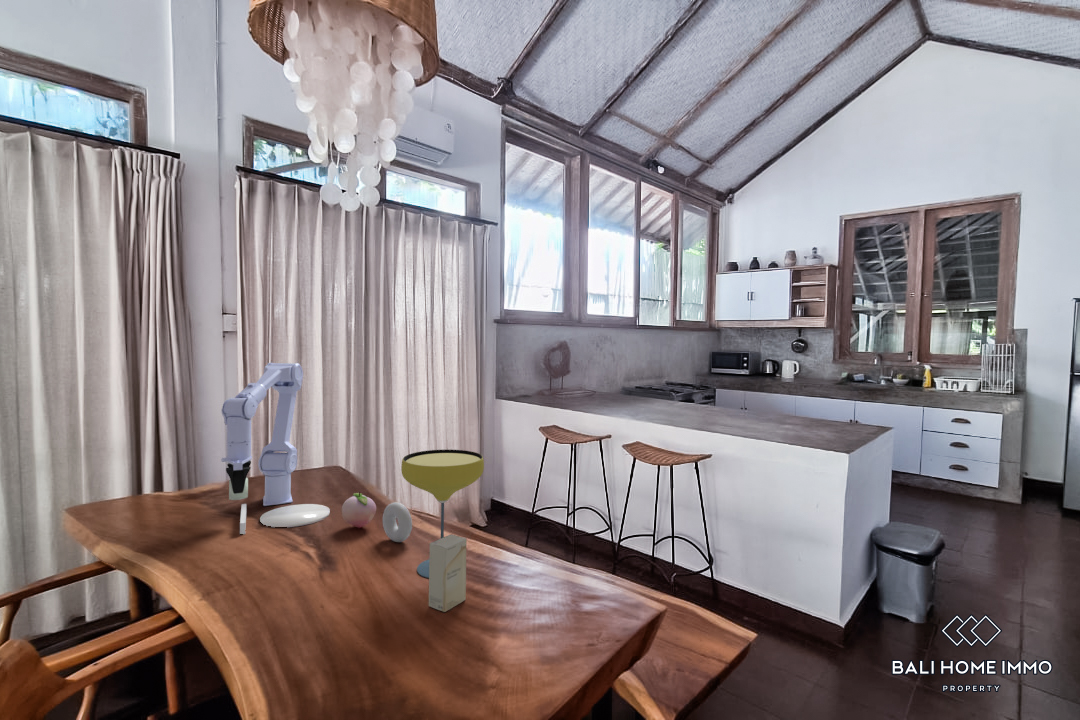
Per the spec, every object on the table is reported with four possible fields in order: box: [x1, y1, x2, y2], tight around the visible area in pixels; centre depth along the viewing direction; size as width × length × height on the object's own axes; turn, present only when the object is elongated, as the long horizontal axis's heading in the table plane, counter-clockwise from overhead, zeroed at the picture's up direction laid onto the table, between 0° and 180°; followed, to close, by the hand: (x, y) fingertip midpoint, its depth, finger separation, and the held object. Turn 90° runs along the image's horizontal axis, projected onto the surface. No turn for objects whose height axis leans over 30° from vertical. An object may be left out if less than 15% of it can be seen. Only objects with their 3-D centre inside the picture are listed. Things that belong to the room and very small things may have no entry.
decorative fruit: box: [341, 491, 377, 529], centre depth 132 cm, size 9×8×10 cm
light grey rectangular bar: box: [239, 503, 247, 535], centre depth 134 cm, size 18×1×3 cm, turn 30°
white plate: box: [259, 503, 331, 528], centre depth 141 cm, size 18×18×1 cm
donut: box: [382, 501, 413, 543], centre depth 124 cm, size 10×3×10 cm, turn 53°
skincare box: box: [428, 533, 468, 613], centre depth 94 cm, size 6×4×12 cm
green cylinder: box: [228, 477, 249, 501], centre depth 133 cm, size 4×4×5 cm
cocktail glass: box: [400, 449, 485, 579], centre depth 109 cm, size 18×18×25 cm
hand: (238, 490), depth 133 cm, fingers closed on green cylinder, 4 cm apart
